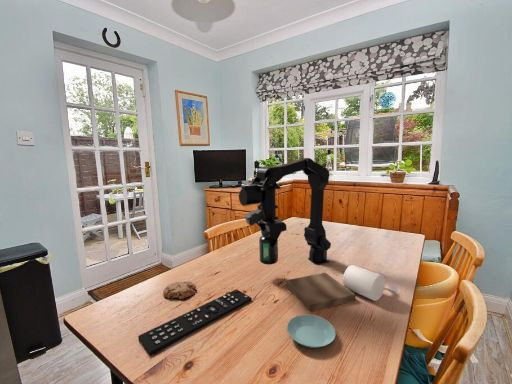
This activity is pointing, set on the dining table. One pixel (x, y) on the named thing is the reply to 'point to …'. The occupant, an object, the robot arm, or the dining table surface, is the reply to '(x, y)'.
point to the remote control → (192, 321)
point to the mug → (364, 282)
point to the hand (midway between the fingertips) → (268, 244)
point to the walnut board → (319, 291)
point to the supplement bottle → (267, 249)
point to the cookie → (179, 290)
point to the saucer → (311, 331)
